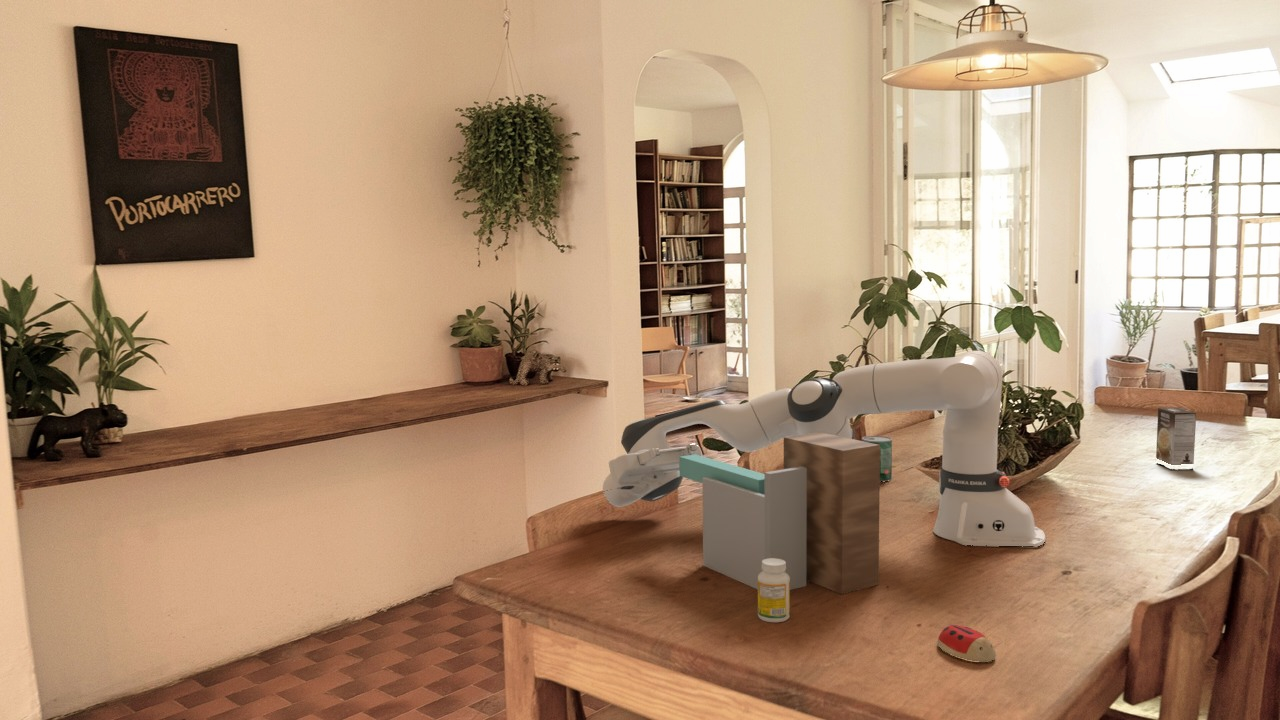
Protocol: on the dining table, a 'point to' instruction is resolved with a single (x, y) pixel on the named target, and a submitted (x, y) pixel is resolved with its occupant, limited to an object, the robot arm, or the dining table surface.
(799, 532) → the grey boxy piece
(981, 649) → the ladybug figurine
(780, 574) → the supplement bottle
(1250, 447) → the dining table surface
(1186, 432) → the coffee box
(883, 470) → the canned tomato
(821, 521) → the stand
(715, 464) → the teal square bar
